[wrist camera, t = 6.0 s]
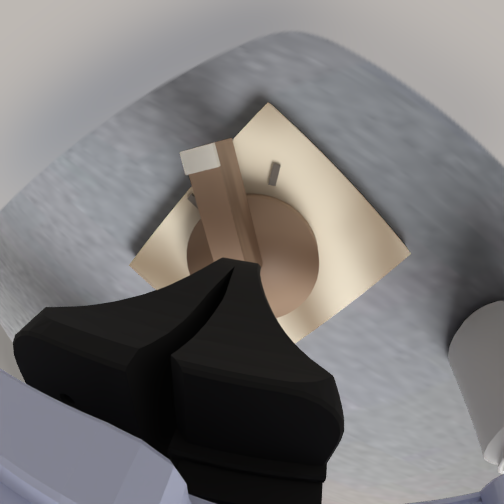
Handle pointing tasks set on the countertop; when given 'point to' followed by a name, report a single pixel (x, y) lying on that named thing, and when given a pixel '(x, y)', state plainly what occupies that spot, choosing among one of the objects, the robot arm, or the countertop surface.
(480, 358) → the can
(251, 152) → the dial plate
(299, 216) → the dial
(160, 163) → the countertop surface
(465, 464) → the countertop surface
